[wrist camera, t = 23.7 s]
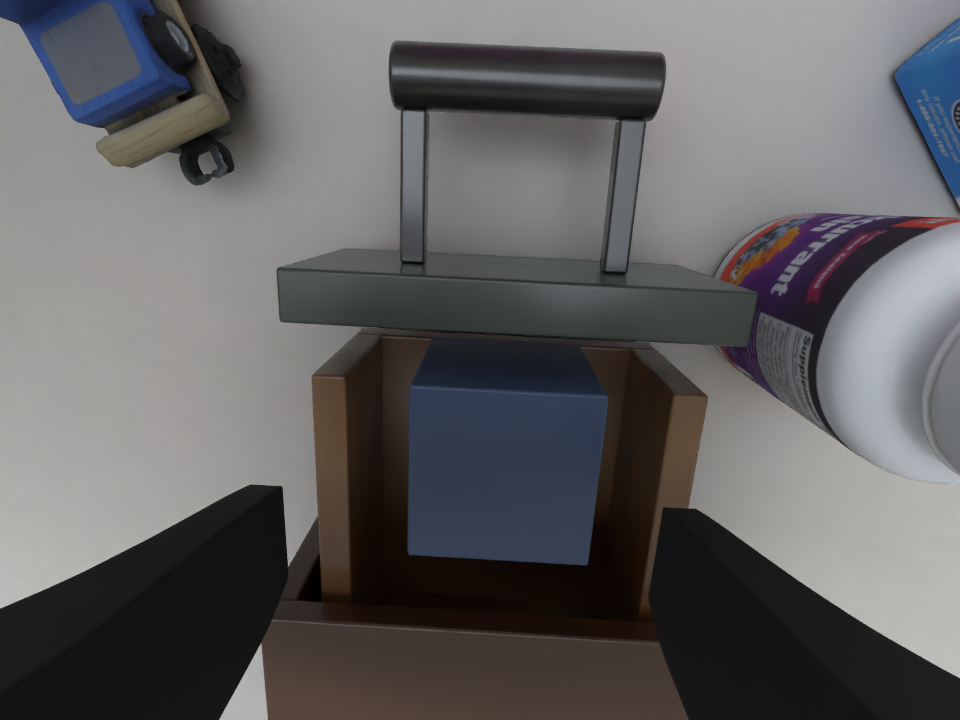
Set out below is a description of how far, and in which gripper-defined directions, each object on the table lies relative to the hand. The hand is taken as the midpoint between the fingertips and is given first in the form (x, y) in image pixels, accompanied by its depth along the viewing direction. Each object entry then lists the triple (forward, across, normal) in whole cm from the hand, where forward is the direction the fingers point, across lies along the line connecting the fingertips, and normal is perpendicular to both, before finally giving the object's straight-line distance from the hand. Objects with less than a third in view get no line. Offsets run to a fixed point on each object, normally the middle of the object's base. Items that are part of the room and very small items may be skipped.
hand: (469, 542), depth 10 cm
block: (+7, -1, 0) cm, 7 cm away
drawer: (+8, -1, -1) cm, 8 cm away
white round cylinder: (+9, -10, -4) cm, 14 cm away
